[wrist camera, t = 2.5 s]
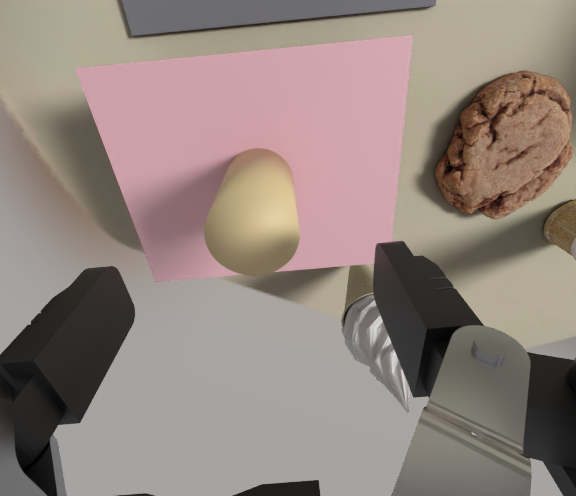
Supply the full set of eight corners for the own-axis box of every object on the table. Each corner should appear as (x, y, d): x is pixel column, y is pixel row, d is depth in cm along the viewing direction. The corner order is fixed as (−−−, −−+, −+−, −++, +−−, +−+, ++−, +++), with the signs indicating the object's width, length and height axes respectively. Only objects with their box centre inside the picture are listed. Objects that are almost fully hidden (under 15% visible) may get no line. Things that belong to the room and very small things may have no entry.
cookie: (570, 49, 22) (609, 48, 19) (556, 187, 27) (585, 202, 24) (423, 102, 23) (441, 108, 21) (437, 224, 29) (453, 241, 26)
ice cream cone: (318, 246, 29) (350, 399, 16) (372, 225, 28) (451, 370, 15) (336, 285, 31) (377, 445, 19) (386, 268, 31) (465, 423, 18)
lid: (98, 66, 16) (-40, 77, 9) (397, 37, 16) (492, 25, 9) (165, 262, 22) (114, 358, 15) (380, 244, 22) (427, 333, 15)
